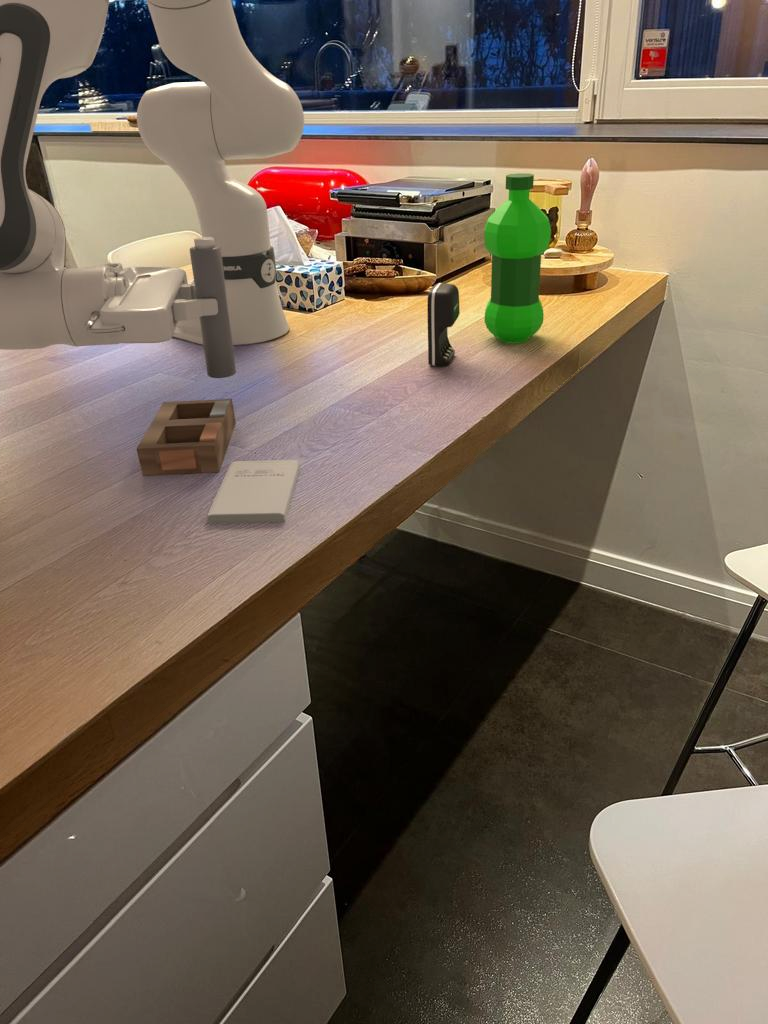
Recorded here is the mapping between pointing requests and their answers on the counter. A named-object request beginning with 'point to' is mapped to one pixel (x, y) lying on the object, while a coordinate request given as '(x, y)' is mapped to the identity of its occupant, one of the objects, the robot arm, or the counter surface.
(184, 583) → the counter surface
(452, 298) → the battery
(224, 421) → the dock
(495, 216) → the plastic bottle
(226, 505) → the external hard drive
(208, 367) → the plug
